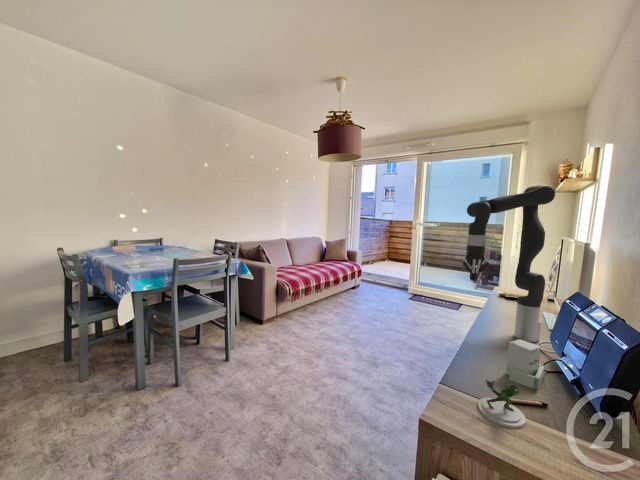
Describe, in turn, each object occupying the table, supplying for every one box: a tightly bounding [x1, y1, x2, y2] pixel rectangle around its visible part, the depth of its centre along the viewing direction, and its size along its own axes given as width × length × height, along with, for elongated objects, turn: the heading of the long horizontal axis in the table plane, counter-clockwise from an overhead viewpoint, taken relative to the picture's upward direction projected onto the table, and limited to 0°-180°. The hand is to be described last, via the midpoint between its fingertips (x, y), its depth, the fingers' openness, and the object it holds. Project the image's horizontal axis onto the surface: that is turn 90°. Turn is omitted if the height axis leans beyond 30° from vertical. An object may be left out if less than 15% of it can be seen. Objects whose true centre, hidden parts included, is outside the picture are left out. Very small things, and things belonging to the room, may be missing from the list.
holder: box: [508, 363, 546, 391], centre depth 101 cm, size 8×13×4 cm, turn 134°
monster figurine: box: [477, 378, 527, 429], centre depth 82 cm, size 12×12×10 cm
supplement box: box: [505, 338, 542, 376], centre depth 102 cm, size 7×7×13 cm
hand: (473, 280), depth 131 cm, fingers closed
